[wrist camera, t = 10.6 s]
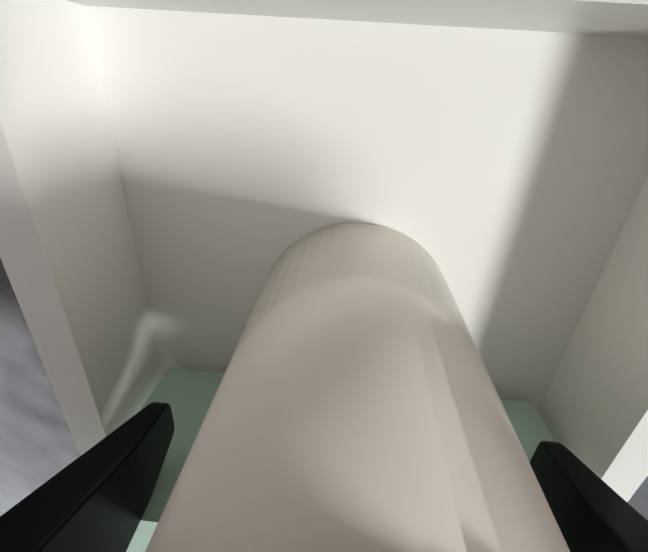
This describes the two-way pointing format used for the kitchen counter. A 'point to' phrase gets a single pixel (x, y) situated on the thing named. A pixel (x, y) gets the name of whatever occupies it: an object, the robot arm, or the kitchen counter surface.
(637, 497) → the kitchen counter surface
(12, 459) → the kitchen counter surface
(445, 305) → the jar
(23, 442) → the kitchen counter surface
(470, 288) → the white tray
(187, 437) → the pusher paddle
